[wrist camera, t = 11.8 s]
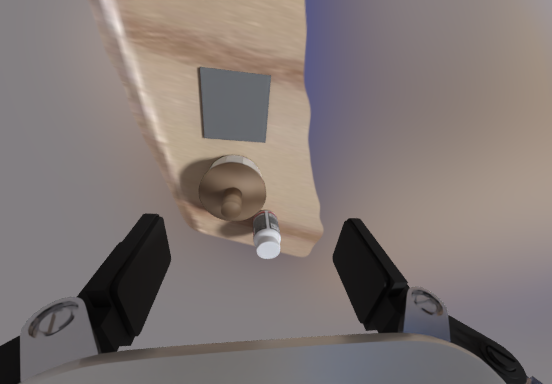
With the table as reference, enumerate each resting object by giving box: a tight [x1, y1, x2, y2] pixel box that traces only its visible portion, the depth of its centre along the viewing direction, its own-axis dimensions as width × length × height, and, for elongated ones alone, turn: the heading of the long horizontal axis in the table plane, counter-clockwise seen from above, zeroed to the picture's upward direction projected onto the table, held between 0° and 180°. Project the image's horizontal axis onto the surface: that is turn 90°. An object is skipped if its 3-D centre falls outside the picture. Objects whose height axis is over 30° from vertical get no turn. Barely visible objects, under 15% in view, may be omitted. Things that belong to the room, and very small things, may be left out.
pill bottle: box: [253, 210, 281, 259], centre depth 44 cm, size 6×6×10 cm
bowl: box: [210, 155, 263, 179], centre depth 40 cm, size 11×11×5 cm
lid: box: [199, 162, 266, 221], centre depth 35 cm, size 12×12×6 cm
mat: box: [200, 67, 271, 143], centre depth 35 cm, size 11×11×1 cm
